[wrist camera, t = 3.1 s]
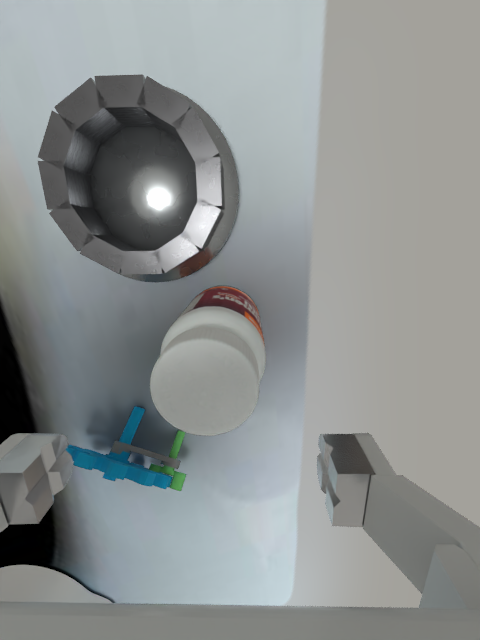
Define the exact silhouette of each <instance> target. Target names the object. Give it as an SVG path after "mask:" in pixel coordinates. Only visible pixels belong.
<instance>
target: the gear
mask: <svg viewBox="0 0 480 640" xmlns="http://www.w3.org/2000/svg"><path fill="white" fill-rule="evenodd" d="M144 411H145V409H143V408H140V407H136V406H134V409H133V411H132V413H131V415H130V418H129V420H128V422H127V424H126V426H125V429H124V431H123V433H122V435H121V438H120V440H119V441H116V440H115V442H114V444H113V447H112V449H111V451H110V453H109V455H108V454H106V455H103V454H101V453H98V452H95V451H92V450H88V449H82V448H79V447H76V446H72V445H68V447H67V449H66V451H67V452H68V453H69V454H70V455H71V456H72V459H73V461H74V464H73V465H75V466H78V467H81V468H85V469H88V470H92V469H93V468H94V469H97V470H99V471H102V472H104V475H103V478H105V479H108V480H112V481H115V479H116V478H118V479H122V480H124V478H127V479H129V480H132V481H134V482H136V483H139V484H141V485H145V486H152V485H154V486H157V487H160V488H163V489H166V488H167V487H170V488H172V489H175V490H178V491H181V489H182V486H183V483H184V480H185V477H186V474H184V473H180V472H177V471H174V469H175V468H176V469H178V468H179V465H180V462H181V461H180V460H177V459H176V458H177V455H178V453H179V450H180V447H181V444H182V441H183V438H184V435H185V432H182V431H179V430H178V432H177V435H176V437H175V440H174V443H173V446H172V449H171V451H170V454H169V457H167V456H164V455H161V454H158V453H154V452H151V451H148V450H145V449H142V448H138V447H135V446H132V445H130V444H131V442H132V440H133V437H134V435H135V433H136V430H137V428H138V425H139V423H140V421H141V418H142V416H143V414H144ZM131 451H133V452H136V453H139V454H143V455H146V456H149V457H152V458H156V459H159V460H162V462H161V464H163V465H164V467H161V466H158V465H155V464H151V465H150V468H149V469H147V468H144V466H142V465H139V464H135V463H132V462H131V463H129V462H130V461H128V458H129V456H130V453H131ZM163 473H165V474H163ZM166 474H168V475H166ZM169 475H171V476H169ZM172 476H173V477H172ZM172 478H173V479H172ZM171 481H172V482H171ZM170 484H171V485H170Z"/></svg>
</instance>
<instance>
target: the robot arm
mask: <svg viewBox="0 0 480 640" xmlns="http://www.w3.org/2000/svg"><path fill="white" fill-rule="evenodd" d="M68 445H69V443H68V439H67V436H65V435H63V434H39V433H33V434H29V433H17V434H14V435H11V436H10V437H9V438H8V439H7V440H5V441H4V442H3V443H2V444H1V445H0V532H1V531H3V530H4V529H5V528H6V527H8V524H38V523H39V522H40V520H41V519H42V518H43V516H44V515H45V514H46V512H47V511H48V509H49V508H50V507H51V505H52V504H53V502H54V495H55V494H56V493H58V492H59V491H61V490H62V489H64V487H65V486H66V484H67V483H68V481H69V479H70V477H71V474H72V471H73V459H72V456H71V455H70V454H69V453H68V452H67V451H66V449H67V447H68ZM318 445H319V448H320V451H321V453H320V454H319V455H318V456H317V472H318V479H319V483H320V487H321V490H322V491H323V492H324V493H325V494H326V502H325V504H326V508H327V511H328V514H329V518H330V521H331V524H332V526H347V527H363V529H364V530H365V531H366V533H367V534H368V535H369V536H370V537H371V538H372V539H373V540H374V542H375V543H376V544H377V545H378V546H379V547H380V548H381V549H382V550H383V552H385V554H386V555H387V556H388V557H389V558H390V559H391V560H392V561H393V563H394V564H395V565H396V566H397V567H398V568H399V569H400V570H401V571H402V573H403V574H404V575H405V576H406V577H407V578H408V579H409V580H410V581H411V582H412V584H413V585H414V586H415V587H416V588H417V589H418V590H419V591H420V592H421V594H422V598H421V601H420V605H419V608H390V607H387V608H386V607H384V608H383V607H324V606H317V607H316V606H259V605H193V604H125V603H112V602H111V601H110V600H108V599H106V598H104V597H101V596H99V595H96V594H93V593H91V592H90V591H88V590H87V589H86V588H84V587H83V586H82V585H81V584H79V583H78V582H77V581H75V580H74V579H72V578H70V577H68V576H67V575H65V574H62V573H60V572H58V571H55V570H52V569H48V568H45V567H40V566H33V565H12V566H6V567H2V568H0V640H480V527H479V526H477V525H475V524H474V523H473V522H471V521H470V520H468V519H467V518H465V517H464V516H462V515H461V514H459V513H458V512H456V511H455V510H453V509H452V508H450V507H449V506H447V505H446V504H444V503H443V502H441V501H440V500H438V499H437V498H435V497H434V496H432V495H431V494H429V493H428V492H426V491H425V490H423V489H422V488H420V487H419V486H417V485H416V484H414V483H413V482H412V481H410V480H409V479H407V478H405V477H404V476H403V475H396V473H395V472H394V470H393V469H392V467H391V465H390V464H389V462H388V460H387V459H386V457H385V456H384V454H383V453H382V451H381V449H380V448H379V446H378V445H377V443H376V442H375V440H374V438H373V437H372V435H370V434H369V433H355V434H354V433H353V434H320V436H319V444H318Z"/></svg>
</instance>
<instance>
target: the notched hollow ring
mask: <svg viewBox="0 0 480 640" xmlns="http://www.w3.org/2000/svg"><path fill="white" fill-rule="evenodd" d="M95 82H96V83H95ZM55 109H56V110H57V112H58V113H59V114H57V113H55V112H53V111H52V112H51V116H50V119H49V122H48V126H47V129H46V132H45V135H44V139H43V142H42V145H41V149H40V152H39V155H38V157H39V158H41V159H43V160H44V161H38V165H39V170H40V175H41V180H42V185H43V190H44V195H45V200H46V205H47V209H49V210H53V211H51V212H50V213H49V214H50V215H51V216H52V218H53V219H54V220H55V222H56V223H57V224H58V226H59V227H60V229H61V230H62V231H63V233H64V234H65V235H66V237H67V238H68V239H69V241H70V242H71V243H72V245H73V246H74V247H75V249H76V250H77V251H81V252H80V254H82V255H84V256H86V257H88V258H90V259H91V260H93V261H95V262H97V263H99V264H101V265H103V266H105V267H107V268H109V269H110V270H112V271H114V272H116V273H118V274H120V275H123V276H125V277H128V278H132V279H135V280H140V281H145V282H165V281H171V280H176V279H179V278H182V277H185V276H188V275H190V274H191V273H193V272H195V271H197V270H199V269H200V268H201V267H203V266H204V265H206V264H207V263H208V262H209V261H210V260H211V259H213V258H214V257H215V256H216V254H217V253H218V252H219V251H220V249H221V248H222V247H223V245H224V244H225V242H226V240H227V239H228V237H229V235H230V232H231V230H232V228H233V225H234V222H235V218H236V214H237V208H238V196H239V189H238V177H237V172H236V167H235V162H234V159H233V156H232V153H231V150H230V148H229V146H228V144H227V142H226V139H225V137H224V136H223V134H222V132H221V131H220V129H219V128H218V126H217V125H216V123H215V122H214V121H213V120H212V119H211V117H210V116H209V115H208V114H207V113H206V112H205V111H204V110H203V109H202V108H201V107H200V106H199V105H198V104H196V103H195V102H193V101H192V100H191V99H189V98H188V97H186V96H185V95H183V94H181V93H179V92H177V91H175V90H173V89H170V88H167V87H164V86H162V85H161V84H159V83H157V82H156V81H154V80H153V79H151V78H150V77H148V76H147V77H146V79H145V77H144V76H143V75H115V76H95V81H94V80H93V79H92V78H90V79H88V80H87V81H86V82H85V83H83V84H82V85H81V86H80V87H78V88H77V89H76V90H75V91H74V92H72V93H71V94H70V95H69V96H67V97H66V98H65V99H64V100H62V101H61V102H60V103H59V104H58V105H56V106H55Z"/></svg>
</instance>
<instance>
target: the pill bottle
mask: <svg viewBox="0 0 480 640" xmlns="http://www.w3.org/2000/svg"><path fill="white" fill-rule="evenodd" d="M265 364H266V353H265V345H264V338H263V333H262V327H261V321H260V316H259V312H258V310H257V307H256V305H255V304H254V302H253V301H252V299H251V298H250V297H249V296H248V295H246V294H245V293H244V292H242V291H240V290H238V289H236V288H233V287H229V286H217V287H212V288H209V289H207V290H205V291H203V292H201V293H200V294H199V295H198V296H196V297H195V298H194V299H193V301H192V302H191V303H190V304H189V305H188V307H187V308H186V309H185V310H184V311H183V313H182V314H181V315H180V316H179V317H178V319H177V320H176V321H175V322H174V323H173V325H172V326H171V327H170V328H169V330H168V332H167V333H166V335H165V338H164V340H163V343H162V346H161V352H160V357H159V358H158V360H157V362H156V363H155V365H154V367H153V370H152V373H151V377H150V392H151V397H152V400H153V403H154V405H155V407H156V409H157V410H158V412H159V413H160V414H161V416H162V417H163V418H164V419H165V420H166V421H167V422H169V423H170V424H171V425H172V426H174V427H176V428H177V429H179V430H182V431H184V432H187V433H190V434H194V435H200V436H213V435H219V434H223V433H226V432H229V431H231V430H233V429H235V428H237V427H238V426H240V425H241V424H242V423H243V422H245V421H246V420H247V419H248V418H249V416H250V415H251V414H252V412H253V410H254V408H255V406H256V404H257V401H258V396H259V383H260V381H261V379H262V377H263V374H264V370H265Z"/></svg>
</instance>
